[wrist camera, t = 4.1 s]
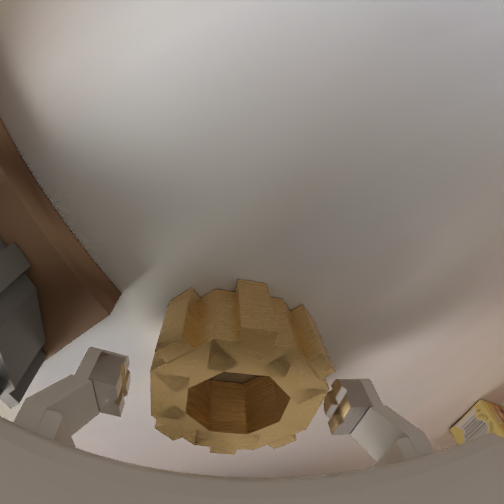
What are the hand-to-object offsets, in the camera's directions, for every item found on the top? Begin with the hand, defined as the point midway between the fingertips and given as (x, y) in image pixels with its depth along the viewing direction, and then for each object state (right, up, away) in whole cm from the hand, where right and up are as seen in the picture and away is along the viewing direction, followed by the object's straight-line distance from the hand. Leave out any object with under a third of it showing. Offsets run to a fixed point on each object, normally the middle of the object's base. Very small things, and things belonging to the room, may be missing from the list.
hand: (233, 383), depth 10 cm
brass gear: (0, 0, +2) cm, 2 cm away
